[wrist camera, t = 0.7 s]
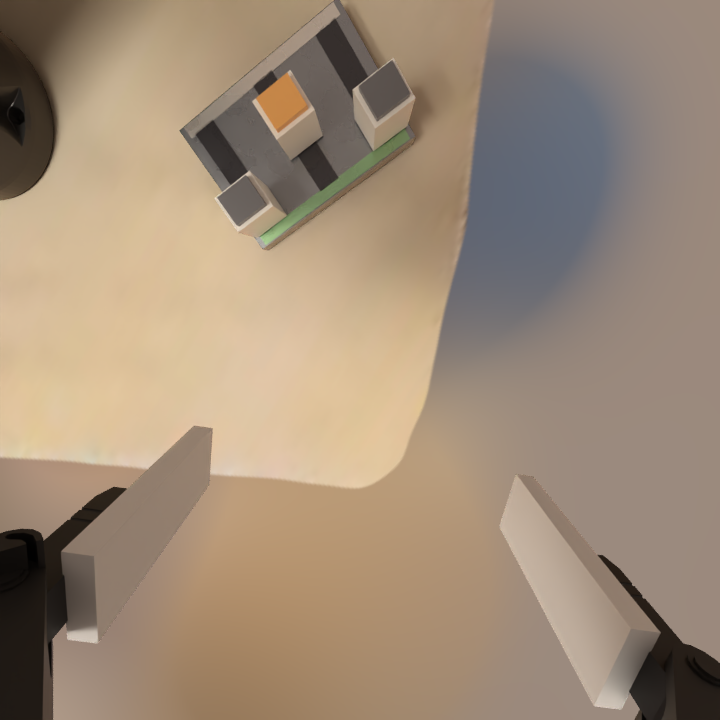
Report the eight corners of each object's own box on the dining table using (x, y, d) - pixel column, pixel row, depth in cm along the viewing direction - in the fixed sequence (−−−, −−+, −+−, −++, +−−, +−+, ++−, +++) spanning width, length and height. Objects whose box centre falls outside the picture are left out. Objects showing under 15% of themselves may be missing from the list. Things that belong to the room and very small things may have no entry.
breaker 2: (270, 128, 30) (249, 97, 25) (302, 102, 30) (288, 64, 24) (290, 160, 31) (274, 136, 25) (322, 135, 30) (313, 105, 25)
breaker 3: (354, 119, 30) (352, 85, 24) (388, 92, 29) (394, 52, 24) (373, 151, 30) (375, 125, 25) (407, 126, 30) (416, 93, 24)
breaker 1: (237, 209, 32) (210, 196, 26) (267, 186, 31) (246, 168, 26) (257, 238, 32) (235, 231, 27) (287, 215, 32) (271, 204, 26)
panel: (190, 138, 32) (178, 130, 30) (339, 15, 30) (337, -4, 28) (268, 250, 35) (262, 249, 33) (412, 144, 32) (415, 135, 30)
